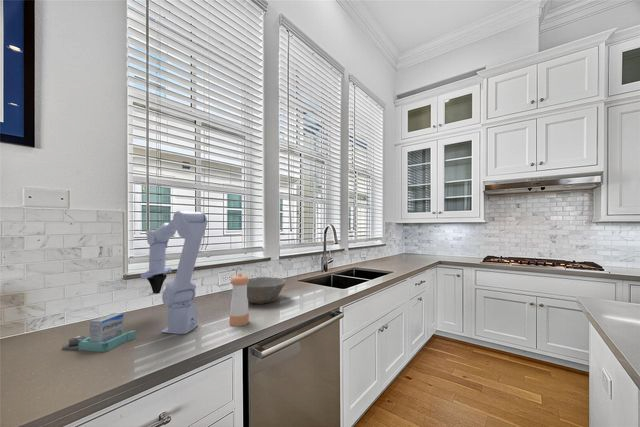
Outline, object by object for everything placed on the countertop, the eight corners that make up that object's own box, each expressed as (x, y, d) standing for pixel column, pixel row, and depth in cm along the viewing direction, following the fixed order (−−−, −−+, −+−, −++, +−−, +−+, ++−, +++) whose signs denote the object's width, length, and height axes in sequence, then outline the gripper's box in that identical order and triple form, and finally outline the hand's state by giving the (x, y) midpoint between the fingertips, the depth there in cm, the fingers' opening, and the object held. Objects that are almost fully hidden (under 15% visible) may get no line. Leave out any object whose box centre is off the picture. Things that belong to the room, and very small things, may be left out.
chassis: (136, 337, 92) (137, 328, 92) (106, 353, 81) (107, 342, 81) (96, 334, 94) (97, 325, 94) (62, 349, 83) (62, 338, 83)
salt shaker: (252, 322, 107) (253, 273, 107) (235, 327, 101) (236, 276, 102) (242, 318, 112) (243, 271, 112) (225, 322, 106) (226, 273, 107)
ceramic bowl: (229, 303, 132) (230, 282, 133) (264, 293, 151) (264, 275, 151) (261, 311, 120) (261, 289, 120) (294, 299, 138) (294, 280, 139)
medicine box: (100, 350, 83) (101, 321, 83) (88, 348, 84) (89, 320, 84) (123, 339, 91) (124, 313, 91) (112, 338, 92) (113, 312, 92)
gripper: (161, 257, 118) (160, 288, 118) (134, 262, 104) (133, 297, 104) (176, 257, 117) (175, 289, 117) (150, 262, 103) (149, 298, 102)
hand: (156, 293), depth 110 cm, fingers closed
